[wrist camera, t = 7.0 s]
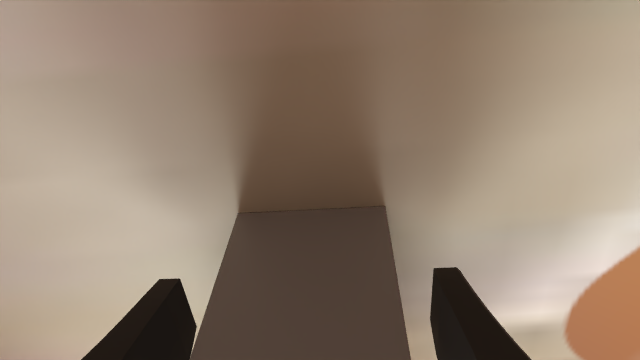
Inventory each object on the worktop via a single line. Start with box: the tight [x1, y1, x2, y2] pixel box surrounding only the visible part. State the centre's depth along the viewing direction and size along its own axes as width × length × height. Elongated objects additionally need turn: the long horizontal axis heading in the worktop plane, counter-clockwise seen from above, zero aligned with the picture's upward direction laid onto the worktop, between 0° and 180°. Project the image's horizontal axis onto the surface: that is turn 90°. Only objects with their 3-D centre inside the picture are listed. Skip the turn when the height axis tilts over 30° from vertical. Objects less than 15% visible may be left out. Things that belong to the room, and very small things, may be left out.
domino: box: [190, 206, 411, 360], centre depth 11 cm, size 2×5×9 cm, turn 95°
